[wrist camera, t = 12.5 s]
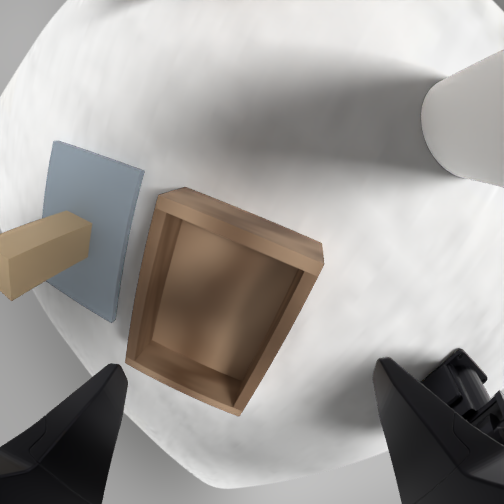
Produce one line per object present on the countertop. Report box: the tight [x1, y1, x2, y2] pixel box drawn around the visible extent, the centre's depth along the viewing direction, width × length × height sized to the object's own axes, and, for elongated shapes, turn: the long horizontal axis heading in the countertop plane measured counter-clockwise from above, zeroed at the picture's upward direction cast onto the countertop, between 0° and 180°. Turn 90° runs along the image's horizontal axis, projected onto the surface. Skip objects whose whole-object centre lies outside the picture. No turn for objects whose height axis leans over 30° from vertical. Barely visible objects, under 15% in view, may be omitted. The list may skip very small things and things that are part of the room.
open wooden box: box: [125, 187, 324, 416], centre depth 20 cm, size 10×14×4 cm
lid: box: [0, 141, 144, 323], centre depth 19 cm, size 10×14×10 cm
